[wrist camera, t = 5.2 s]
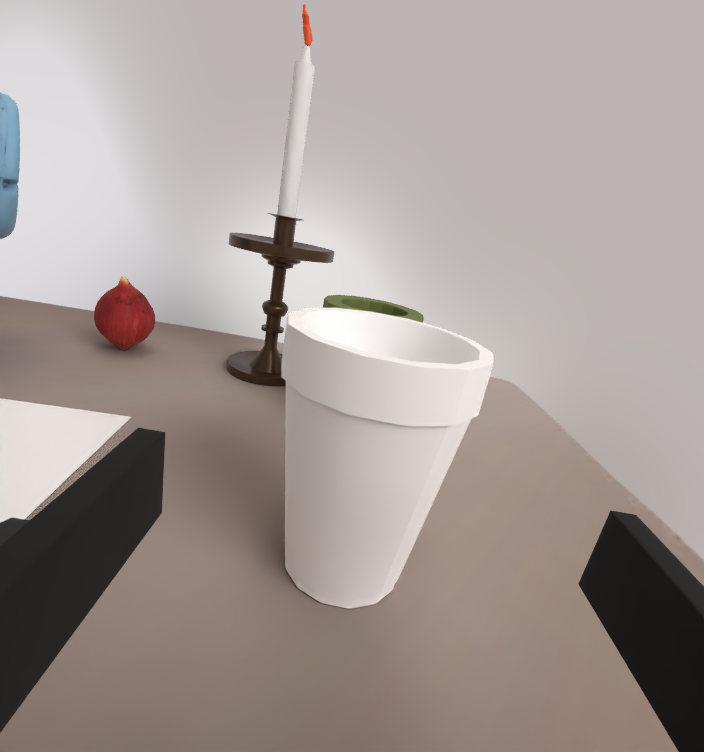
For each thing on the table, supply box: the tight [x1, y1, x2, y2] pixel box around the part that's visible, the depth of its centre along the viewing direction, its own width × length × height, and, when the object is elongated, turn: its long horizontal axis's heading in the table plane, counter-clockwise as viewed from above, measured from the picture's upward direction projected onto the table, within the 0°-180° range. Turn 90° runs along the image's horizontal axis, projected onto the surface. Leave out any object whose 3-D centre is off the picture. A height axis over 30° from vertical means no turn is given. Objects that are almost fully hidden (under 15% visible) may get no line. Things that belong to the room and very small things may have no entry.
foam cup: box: [281, 308, 493, 609], centre depth 22 cm, size 10×9×13 cm
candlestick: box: [227, 4, 334, 386], centre depth 44 cm, size 11×11×35 cm
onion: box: [94, 277, 155, 350], centre depth 47 cm, size 6×6×8 cm
